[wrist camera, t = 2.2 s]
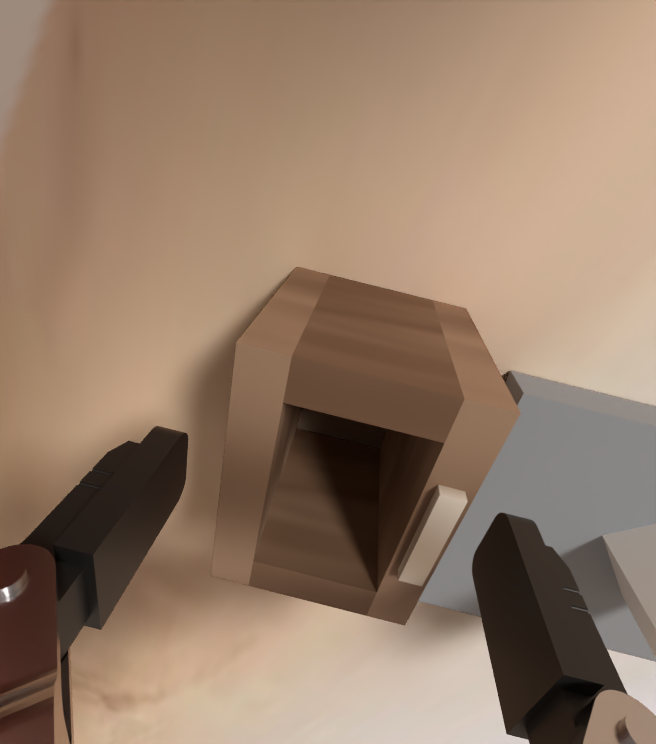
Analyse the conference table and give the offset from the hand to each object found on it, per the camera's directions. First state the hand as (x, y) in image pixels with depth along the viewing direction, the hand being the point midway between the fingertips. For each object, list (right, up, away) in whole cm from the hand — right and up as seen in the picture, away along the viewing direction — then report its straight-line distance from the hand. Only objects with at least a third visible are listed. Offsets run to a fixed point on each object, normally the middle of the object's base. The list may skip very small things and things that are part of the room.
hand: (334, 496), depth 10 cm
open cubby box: (+1, +3, +4) cm, 5 cm away
